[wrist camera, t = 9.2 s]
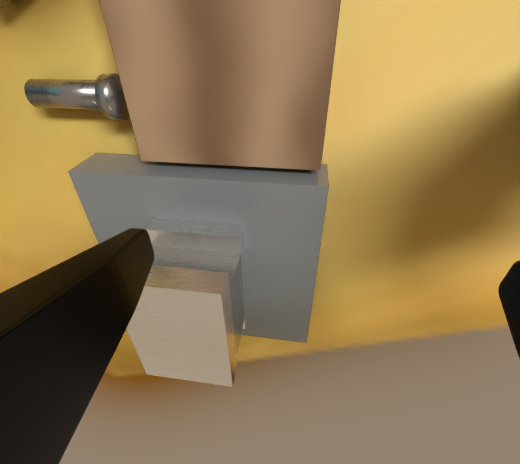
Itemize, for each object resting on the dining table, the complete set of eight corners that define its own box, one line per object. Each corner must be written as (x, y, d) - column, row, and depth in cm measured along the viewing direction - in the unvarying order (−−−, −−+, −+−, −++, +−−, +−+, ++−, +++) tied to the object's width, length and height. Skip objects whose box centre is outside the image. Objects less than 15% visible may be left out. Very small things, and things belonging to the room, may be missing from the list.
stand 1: (349, -98, 12) (354, -113, 11) (319, 156, 19) (320, 170, 17) (102, -85, 14) (74, -96, 12) (154, 148, 20) (141, 160, 19)
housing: (244, 223, 19) (221, 294, 14) (248, 313, 25) (232, 386, 20) (155, 216, 20) (105, 281, 15) (178, 305, 25) (146, 374, 20)
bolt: (126, 70, 18) (103, 78, 16) (136, 113, 19) (116, 124, 17) (36, 69, 18) (4, 76, 16) (53, 110, 20) (25, 121, 18)
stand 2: (326, 164, 19) (328, 186, 17) (307, 314, 28) (306, 342, 26) (95, 152, 21) (68, 171, 19) (146, 296, 30) (131, 321, 28)
